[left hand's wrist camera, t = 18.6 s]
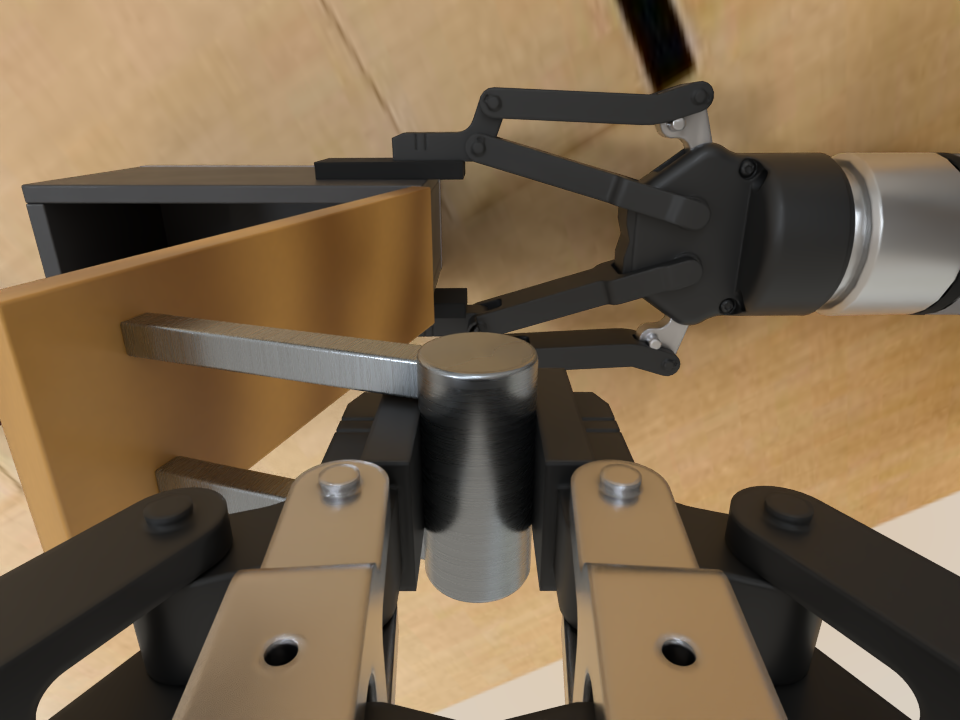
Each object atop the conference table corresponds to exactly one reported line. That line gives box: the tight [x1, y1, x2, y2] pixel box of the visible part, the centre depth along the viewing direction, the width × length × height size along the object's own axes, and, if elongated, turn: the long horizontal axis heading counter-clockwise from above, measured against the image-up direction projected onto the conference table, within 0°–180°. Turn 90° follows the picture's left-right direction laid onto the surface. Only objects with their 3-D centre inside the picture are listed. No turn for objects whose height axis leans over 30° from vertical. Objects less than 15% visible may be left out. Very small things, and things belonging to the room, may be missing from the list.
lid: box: [0, 186, 538, 603], centre depth 17 cm, size 17×6×9 cm
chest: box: [22, 165, 442, 292], centre depth 31 cm, size 16×6×10 cm, turn 90°
